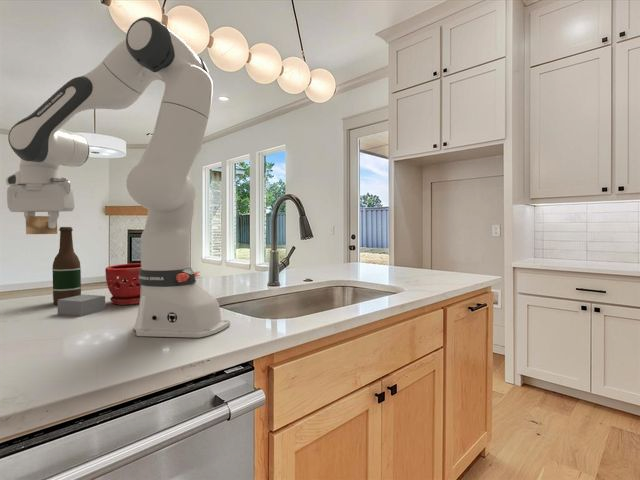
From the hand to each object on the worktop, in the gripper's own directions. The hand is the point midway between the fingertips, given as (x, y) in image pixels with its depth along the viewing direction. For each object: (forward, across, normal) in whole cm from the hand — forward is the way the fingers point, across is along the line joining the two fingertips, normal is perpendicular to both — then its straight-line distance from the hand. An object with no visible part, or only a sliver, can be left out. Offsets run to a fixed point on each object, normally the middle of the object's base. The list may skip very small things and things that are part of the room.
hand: (41, 228), depth 102 cm
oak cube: (+2, 0, 0) cm, 2 cm away
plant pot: (+24, -14, -17) cm, 32 cm away
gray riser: (+24, -11, -2) cm, 26 cm away
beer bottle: (+24, +4, -11) cm, 27 cm away
